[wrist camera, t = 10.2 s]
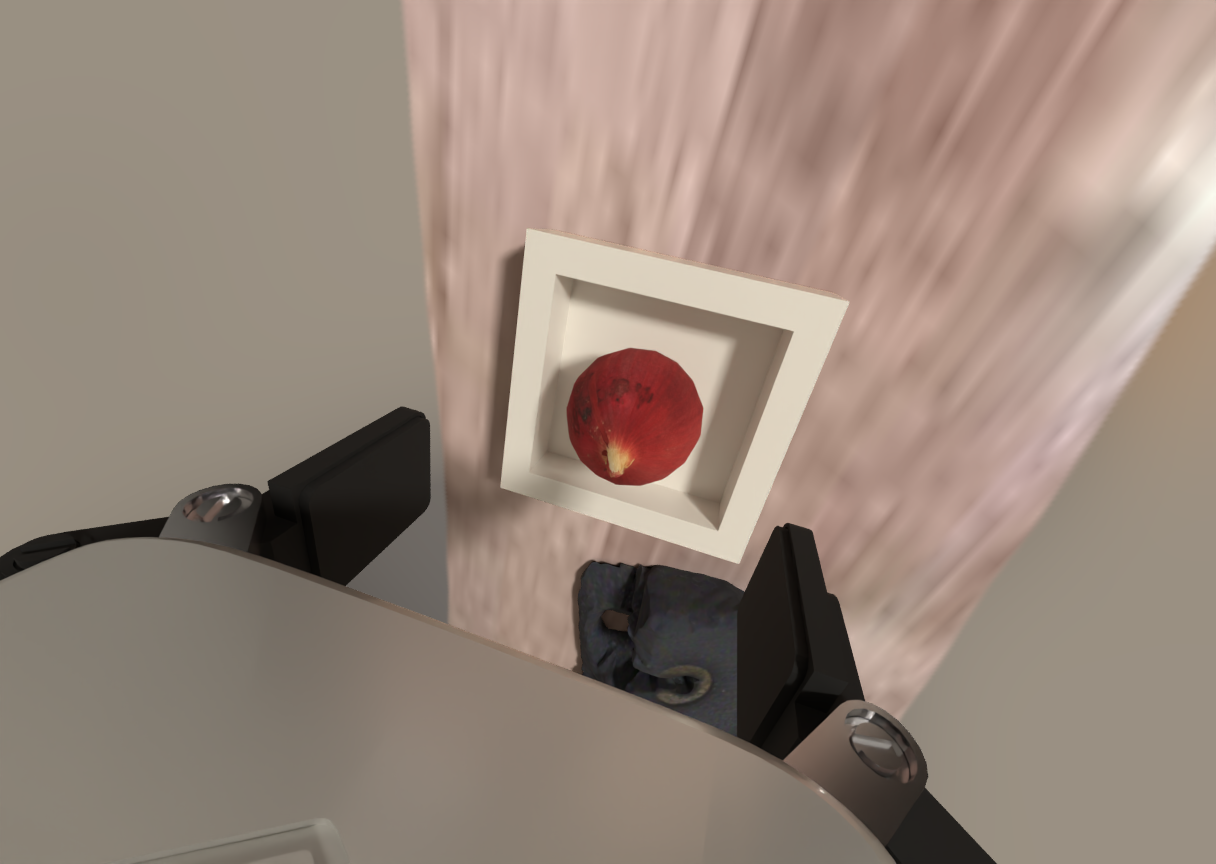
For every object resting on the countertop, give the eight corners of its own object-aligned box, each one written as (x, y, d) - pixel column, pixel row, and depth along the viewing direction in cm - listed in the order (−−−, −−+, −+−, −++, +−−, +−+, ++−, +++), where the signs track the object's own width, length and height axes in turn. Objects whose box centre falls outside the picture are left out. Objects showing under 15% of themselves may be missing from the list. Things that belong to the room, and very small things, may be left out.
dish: (553, 229, 21) (526, 228, 18) (832, 292, 19) (849, 301, 17) (524, 461, 27) (500, 487, 24) (738, 527, 25) (738, 564, 22)
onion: (570, 385, 24) (503, 450, 16) (648, 307, 21) (608, 344, 14) (646, 462, 24) (613, 556, 17) (730, 395, 22) (732, 473, 15)
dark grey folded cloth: (564, 744, 38) (543, 807, 34) (589, 537, 29) (564, 589, 24) (747, 807, 35) (749, 885, 31) (840, 602, 26) (862, 673, 22)
